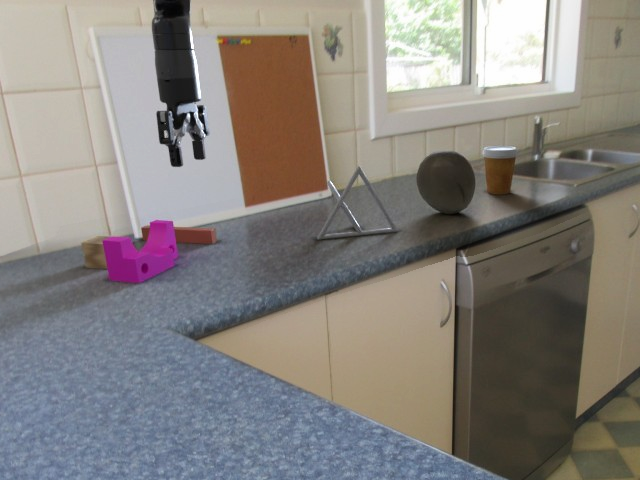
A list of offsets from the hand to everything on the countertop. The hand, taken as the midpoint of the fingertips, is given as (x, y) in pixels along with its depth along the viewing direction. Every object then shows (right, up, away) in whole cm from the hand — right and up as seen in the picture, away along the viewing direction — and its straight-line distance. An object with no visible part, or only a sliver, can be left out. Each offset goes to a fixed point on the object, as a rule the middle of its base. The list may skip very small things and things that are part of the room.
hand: (189, 162), depth 130 cm
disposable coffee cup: (+69, +3, +53) cm, 87 cm away
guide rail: (-6, -14, +12) cm, 19 cm away
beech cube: (-15, -20, -3) cm, 25 cm away
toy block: (-5, -21, -6) cm, 23 cm away
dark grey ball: (+52, -6, +31) cm, 61 cm away
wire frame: (+31, -12, +17) cm, 37 cm away
